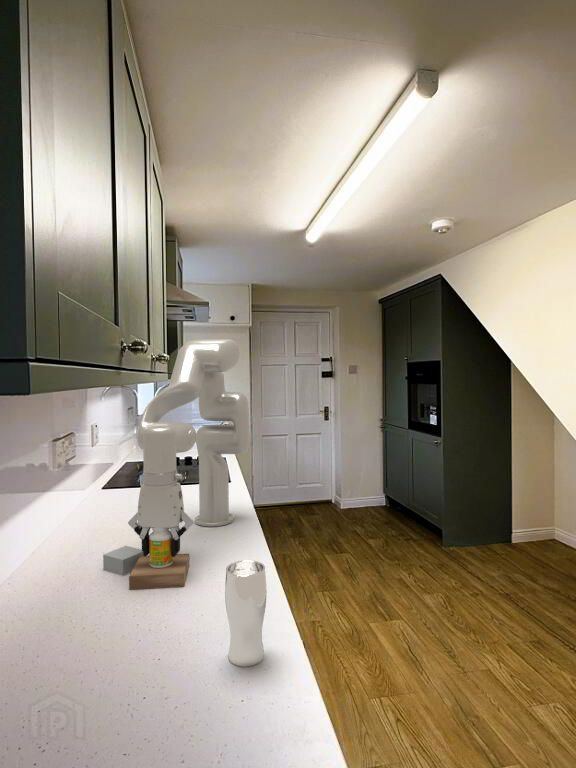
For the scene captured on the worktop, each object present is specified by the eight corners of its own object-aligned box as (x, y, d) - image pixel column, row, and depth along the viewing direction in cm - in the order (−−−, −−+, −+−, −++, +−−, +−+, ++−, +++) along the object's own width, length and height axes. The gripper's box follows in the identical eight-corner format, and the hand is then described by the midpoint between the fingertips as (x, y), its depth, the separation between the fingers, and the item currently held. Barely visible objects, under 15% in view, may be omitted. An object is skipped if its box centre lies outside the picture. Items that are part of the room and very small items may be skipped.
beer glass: (267, 643, 82) (266, 559, 82) (266, 668, 75) (266, 576, 75) (227, 644, 82) (226, 560, 82) (223, 669, 75) (222, 577, 75)
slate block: (126, 560, 121) (125, 545, 121) (145, 566, 117) (145, 550, 117) (103, 570, 115) (103, 554, 115) (123, 576, 111) (122, 559, 111)
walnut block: (140, 567, 116) (140, 555, 115) (189, 565, 117) (189, 553, 117) (129, 589, 104) (129, 576, 104) (184, 586, 105) (184, 573, 105)
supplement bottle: (149, 569, 107) (148, 527, 107) (149, 560, 112) (149, 520, 112) (173, 567, 108) (173, 525, 108) (172, 558, 114) (172, 518, 114)
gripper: (200, 475, 113) (201, 549, 113) (130, 475, 114) (131, 548, 115) (191, 482, 106) (192, 561, 106) (117, 481, 107) (118, 560, 107)
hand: (161, 553), depth 110 cm, fingers open, 6 cm apart
